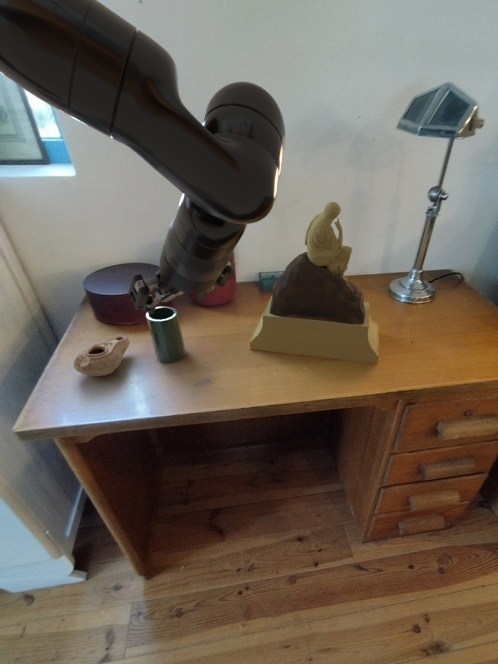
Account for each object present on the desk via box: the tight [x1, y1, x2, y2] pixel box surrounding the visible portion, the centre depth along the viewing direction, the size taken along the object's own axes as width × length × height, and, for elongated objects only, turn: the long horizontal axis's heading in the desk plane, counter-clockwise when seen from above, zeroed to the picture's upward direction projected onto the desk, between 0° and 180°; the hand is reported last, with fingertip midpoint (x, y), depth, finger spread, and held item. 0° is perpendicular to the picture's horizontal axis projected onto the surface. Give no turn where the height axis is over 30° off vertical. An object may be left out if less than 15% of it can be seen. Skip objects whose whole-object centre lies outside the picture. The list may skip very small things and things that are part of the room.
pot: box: [145, 305, 186, 364], centre depth 79 cm, size 6×6×10 cm
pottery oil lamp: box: [73, 335, 131, 377], centre depth 77 cm, size 9×12×7 cm
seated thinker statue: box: [249, 201, 380, 365], centre depth 78 cm, size 28×13×30 cm, turn 81°
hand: (174, 300), depth 61 cm, fingers open, 8 cm apart
